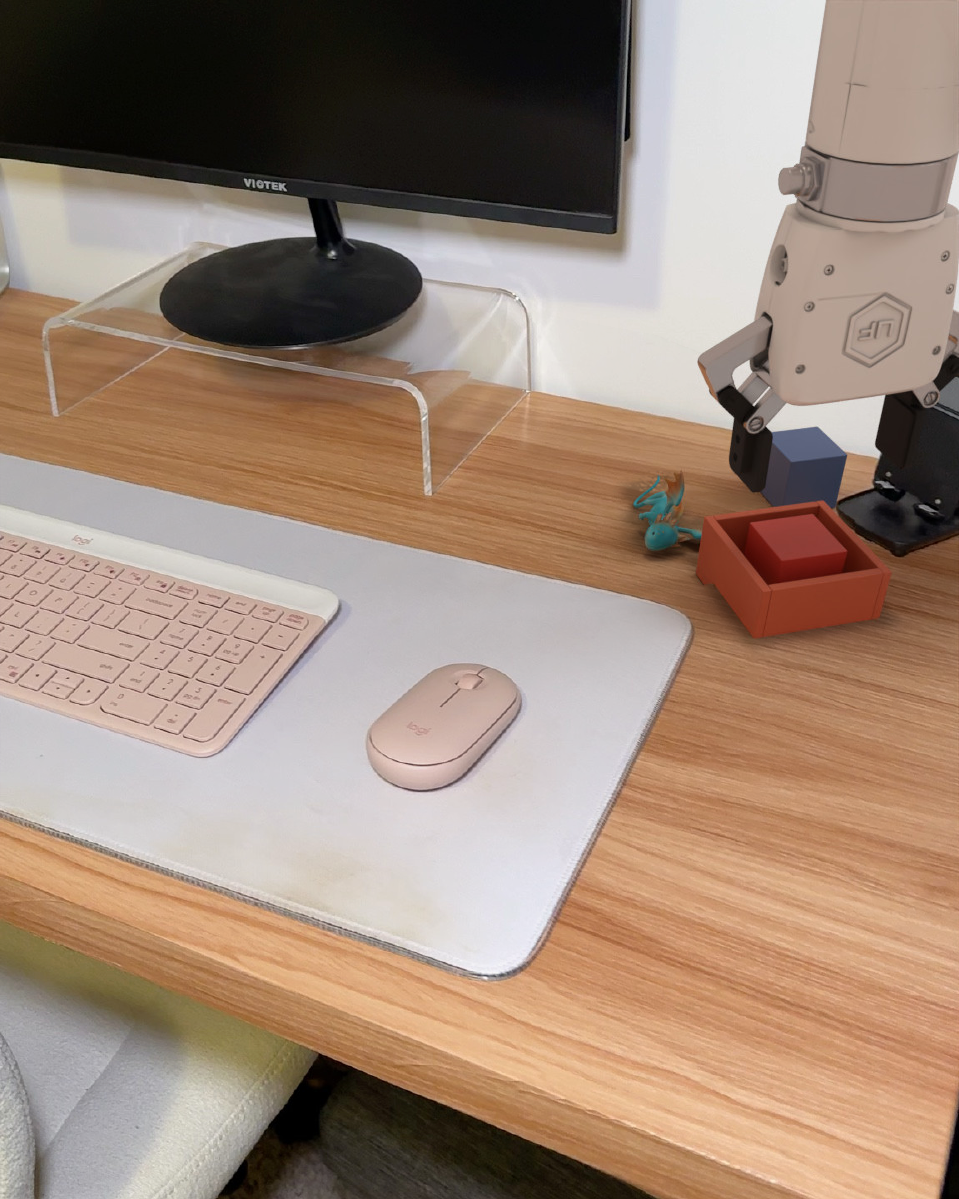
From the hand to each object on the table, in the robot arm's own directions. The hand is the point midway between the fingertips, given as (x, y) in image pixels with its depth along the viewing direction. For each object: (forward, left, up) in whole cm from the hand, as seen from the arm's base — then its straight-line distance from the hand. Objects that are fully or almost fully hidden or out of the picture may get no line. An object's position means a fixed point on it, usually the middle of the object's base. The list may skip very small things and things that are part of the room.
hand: (820, 469), depth 69 cm
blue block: (-6, -12, -10) cm, 17 cm away
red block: (+1, 0, -9) cm, 9 cm away
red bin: (+1, 0, -10) cm, 10 cm away
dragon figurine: (+5, -10, -10) cm, 15 cm away
